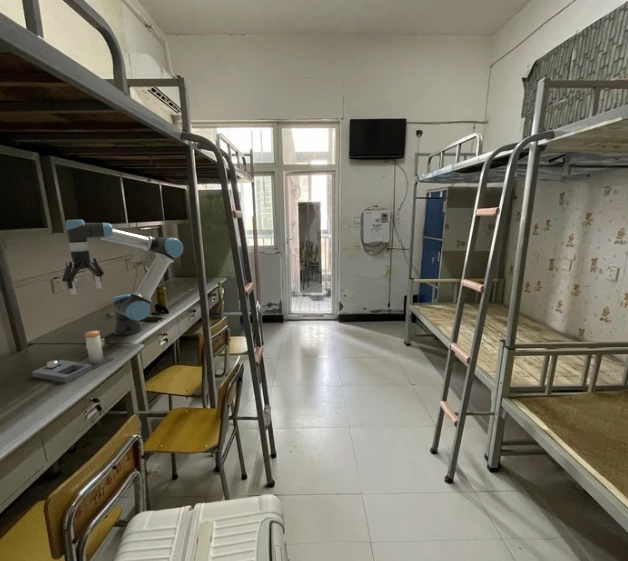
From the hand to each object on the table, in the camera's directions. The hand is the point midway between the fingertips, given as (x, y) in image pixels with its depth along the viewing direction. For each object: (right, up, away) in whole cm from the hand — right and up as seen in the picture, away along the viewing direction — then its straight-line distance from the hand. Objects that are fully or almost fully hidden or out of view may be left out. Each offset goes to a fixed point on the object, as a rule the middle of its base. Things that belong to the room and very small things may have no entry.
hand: (86, 291), depth 162 cm
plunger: (-2, -35, -19) cm, 40 cm away
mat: (+12, -34, -10) cm, 38 cm away
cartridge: (+12, -34, -10) cm, 37 cm away
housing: (+4, -37, -20) cm, 42 cm away
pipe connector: (+4, -32, +1) cm, 33 cm away
